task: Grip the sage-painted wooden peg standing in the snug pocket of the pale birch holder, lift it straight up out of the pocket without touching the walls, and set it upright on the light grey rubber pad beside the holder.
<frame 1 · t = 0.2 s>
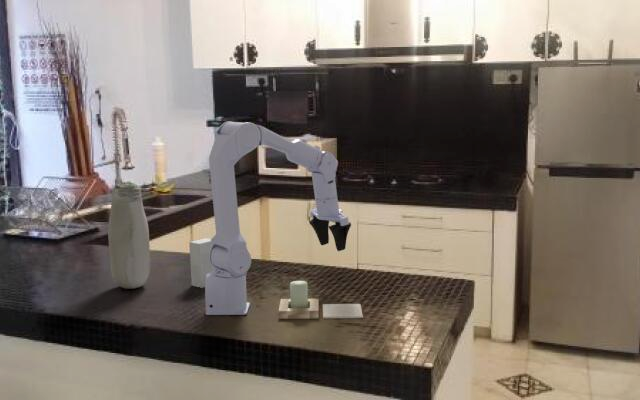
hand: (332, 247, 174), 11 cm above the table, tool pointing down, fingers open, 7 cm apart
skincare box: (204, 285, 178), on the table
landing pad: (342, 311, 155), on the table
sage peg: (299, 297, 154), in the pocket holder
pale grey-green bottle: (131, 288, 176), on the table
pocket holder: (299, 312, 155), on the table
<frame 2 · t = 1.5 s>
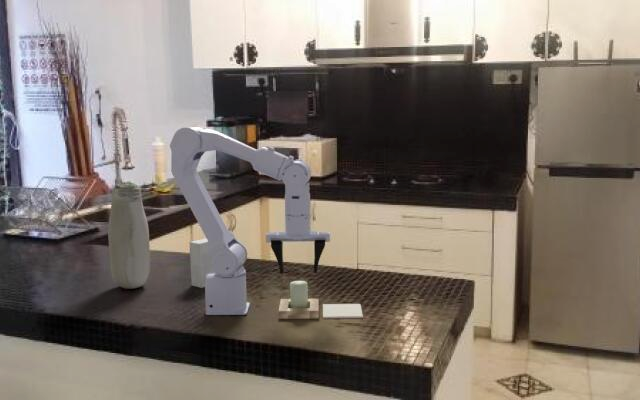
hand: (298, 272, 153), 10 cm above the table, tool pointing down, fingers open, 7 cm apart
nothing on the table moved.
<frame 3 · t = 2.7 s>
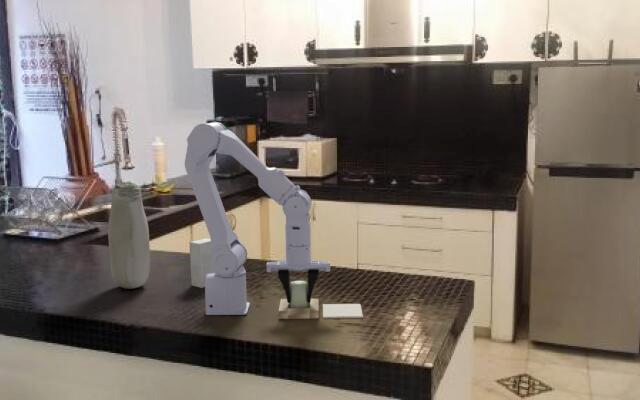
hand: (299, 301, 154), 3 cm above the table, tool pointing down, fingers closed on sage peg, 4 cm apart
sage peg: (299, 297, 154), in the pocket holder, touching gripper
everything else where it was.
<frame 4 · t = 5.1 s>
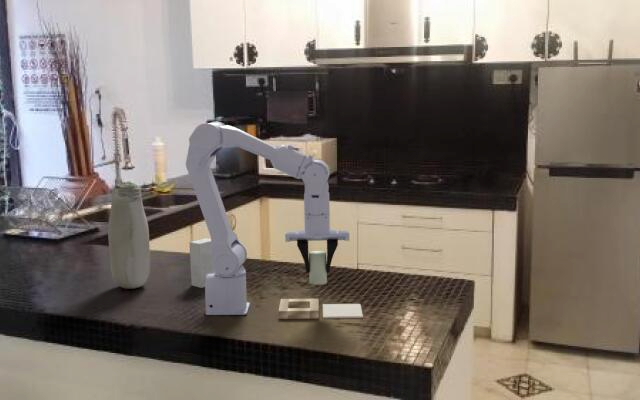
hand: (317, 271, 153), 10 cm above the table, tool pointing down, fingers closed on sage peg, 4 cm apart
sage peg: (317, 267, 153), point 11 cm above the table, touching gripper
everything else where it was.
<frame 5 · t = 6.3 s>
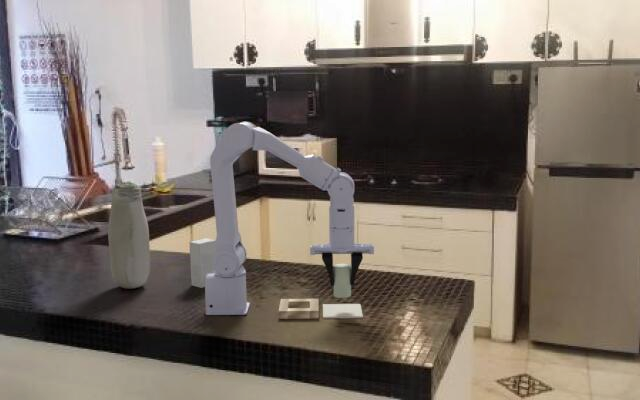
hand: (342, 284, 154), 7 cm above the table, tool pointing down, fingers closed on sage peg, 4 cm apart
sage peg: (342, 280, 153), point 7 cm above the table, touching gripper
everything else where it was.
when the fingers open (4 cm above the table, at t = 7.3 s): sage peg stays where it is, resting on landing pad.
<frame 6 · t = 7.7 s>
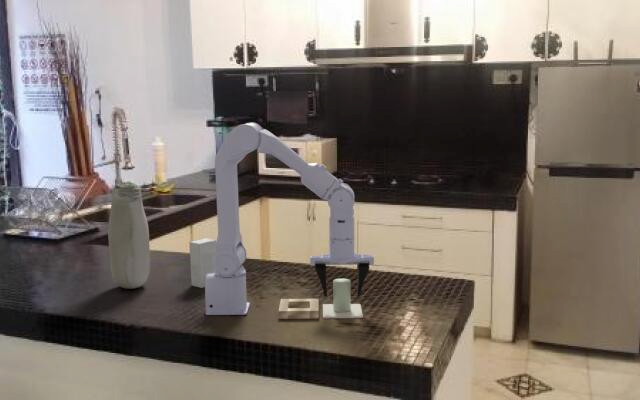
hand: (342, 295, 154), 4 cm above the table, tool pointing down, fingers open, 7 cm apart
sage peg: (342, 295, 154), on the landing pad
everything else where it was.
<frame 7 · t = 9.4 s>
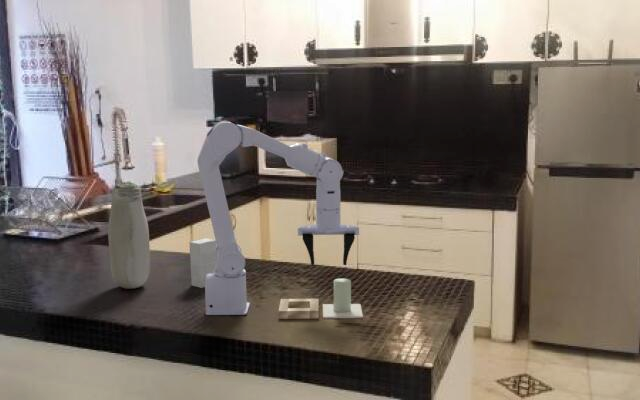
hand: (328, 264, 160), 10 cm above the table, tool pointing down, fingers open, 7 cm apart
nothing on the table moved.
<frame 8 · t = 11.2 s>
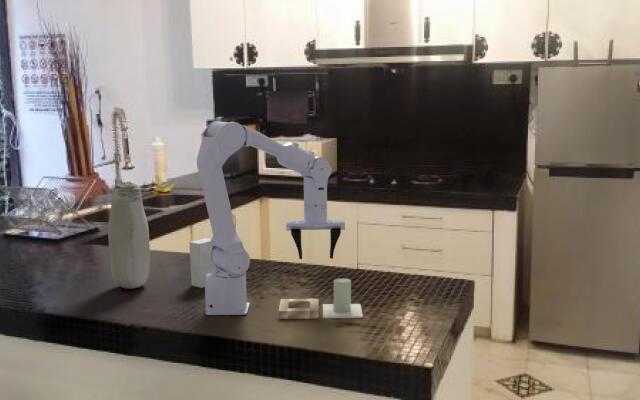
hand: (316, 258, 167), 9 cm above the table, tool pointing down, fingers open, 7 cm apart
nothing on the table moved.
at the end: sage peg 0.0 cm off-centre on the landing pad, point 3.9 cm above the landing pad's base; sage peg tilted 1°; the gripper is holding nothing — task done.
